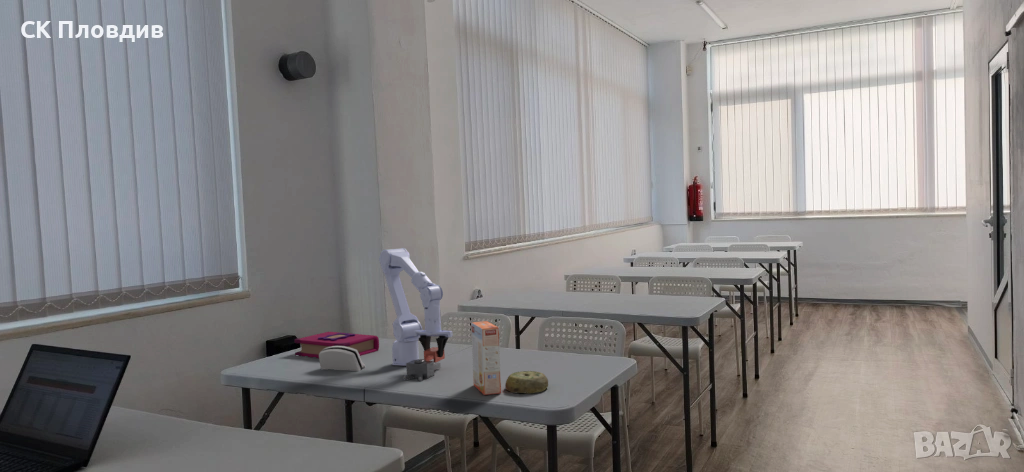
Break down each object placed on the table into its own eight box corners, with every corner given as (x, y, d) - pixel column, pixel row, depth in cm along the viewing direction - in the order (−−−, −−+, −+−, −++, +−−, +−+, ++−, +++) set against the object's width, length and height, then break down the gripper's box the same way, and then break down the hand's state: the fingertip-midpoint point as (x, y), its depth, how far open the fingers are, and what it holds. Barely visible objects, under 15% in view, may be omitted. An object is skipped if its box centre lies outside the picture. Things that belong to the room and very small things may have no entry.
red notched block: (424, 362, 250) (423, 351, 250) (433, 357, 257) (432, 347, 256) (435, 362, 248) (435, 351, 248) (444, 358, 255) (444, 347, 255)
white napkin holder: (366, 367, 260) (360, 344, 256) (360, 374, 256) (354, 351, 252) (327, 365, 265) (321, 343, 262) (321, 372, 261) (314, 349, 258)
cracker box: (502, 393, 216) (499, 326, 215) (483, 396, 215) (480, 328, 214) (490, 383, 230) (488, 320, 229) (473, 385, 228) (470, 321, 227)
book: (331, 346, 306) (330, 329, 305) (379, 351, 291) (378, 333, 291) (293, 356, 288) (292, 338, 288) (342, 362, 273) (341, 342, 273)
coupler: (429, 366, 257) (428, 351, 257) (448, 368, 254) (447, 352, 254) (402, 379, 239) (401, 363, 239) (422, 381, 236) (421, 364, 236)
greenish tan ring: (557, 389, 220) (556, 373, 219) (522, 397, 212) (522, 381, 212) (531, 381, 231) (530, 366, 231) (497, 389, 223) (496, 373, 223)
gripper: (409, 320, 251) (411, 357, 251) (445, 321, 245) (447, 359, 246) (419, 317, 257) (420, 353, 258) (454, 317, 252) (456, 355, 253)
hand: (434, 356), depth 252 cm, fingers closed on red notched block, 5 cm apart
